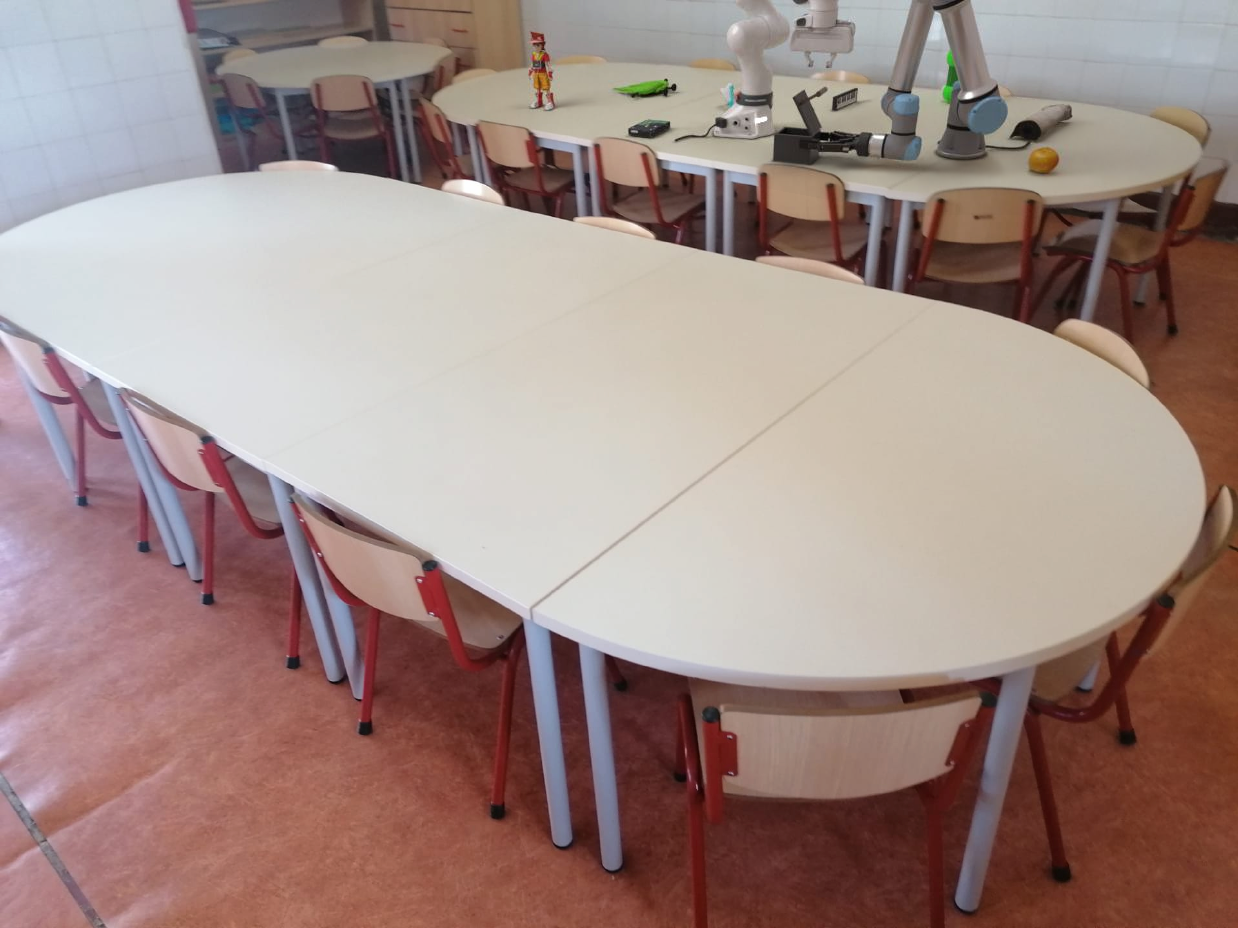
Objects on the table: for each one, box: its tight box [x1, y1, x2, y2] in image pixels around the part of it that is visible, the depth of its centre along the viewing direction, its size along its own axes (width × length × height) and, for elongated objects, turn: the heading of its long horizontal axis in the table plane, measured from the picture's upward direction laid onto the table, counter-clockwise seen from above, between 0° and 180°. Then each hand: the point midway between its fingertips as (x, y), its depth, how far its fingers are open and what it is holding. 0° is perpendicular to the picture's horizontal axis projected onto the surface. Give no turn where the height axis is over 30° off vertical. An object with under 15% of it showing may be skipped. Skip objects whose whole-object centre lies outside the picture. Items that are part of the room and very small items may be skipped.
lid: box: [792, 86, 829, 136], centre depth 292 cm, size 14×10×8 cm
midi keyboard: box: [831, 87, 859, 111], centre depth 357 cm, size 18×1×5 cm, turn 138°
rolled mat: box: [1009, 103, 1073, 142], centre depth 315 cm, size 30×9×10 cm
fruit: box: [1027, 147, 1060, 174], centre depth 278 cm, size 8×8×8 cm
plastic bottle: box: [942, 49, 959, 104], centre depth 348 cm, size 10×10×25 cm
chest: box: [772, 126, 822, 166], centre depth 302 cm, size 13×10×9 cm
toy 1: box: [527, 31, 556, 111], centre depth 374 cm, size 12×9×30 cm
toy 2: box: [612, 78, 677, 99], centre depth 396 cm, size 28×5×30 cm
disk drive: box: [627, 118, 671, 138], centre depth 341 cm, size 10×3×15 cm
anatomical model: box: [719, 82, 742, 108], centre depth 364 cm, size 15×10×10 cm
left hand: (819, 67), depth 285 cm, fingers open, 5 cm apart
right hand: (804, 139), depth 299 cm, fingers closed on chest, 10 cm apart
